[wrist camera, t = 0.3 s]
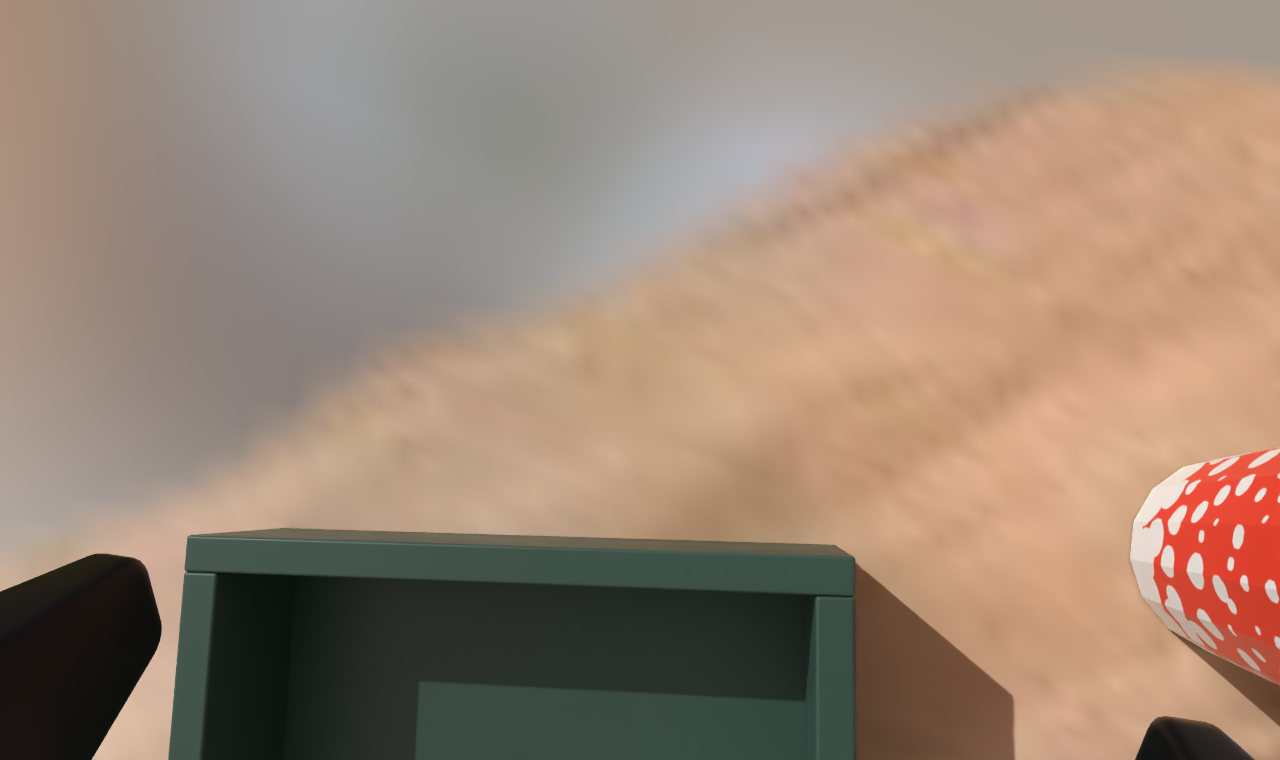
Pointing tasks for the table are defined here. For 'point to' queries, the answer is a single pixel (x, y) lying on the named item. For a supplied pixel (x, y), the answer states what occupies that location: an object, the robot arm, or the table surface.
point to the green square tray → (512, 648)
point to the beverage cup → (1216, 557)
